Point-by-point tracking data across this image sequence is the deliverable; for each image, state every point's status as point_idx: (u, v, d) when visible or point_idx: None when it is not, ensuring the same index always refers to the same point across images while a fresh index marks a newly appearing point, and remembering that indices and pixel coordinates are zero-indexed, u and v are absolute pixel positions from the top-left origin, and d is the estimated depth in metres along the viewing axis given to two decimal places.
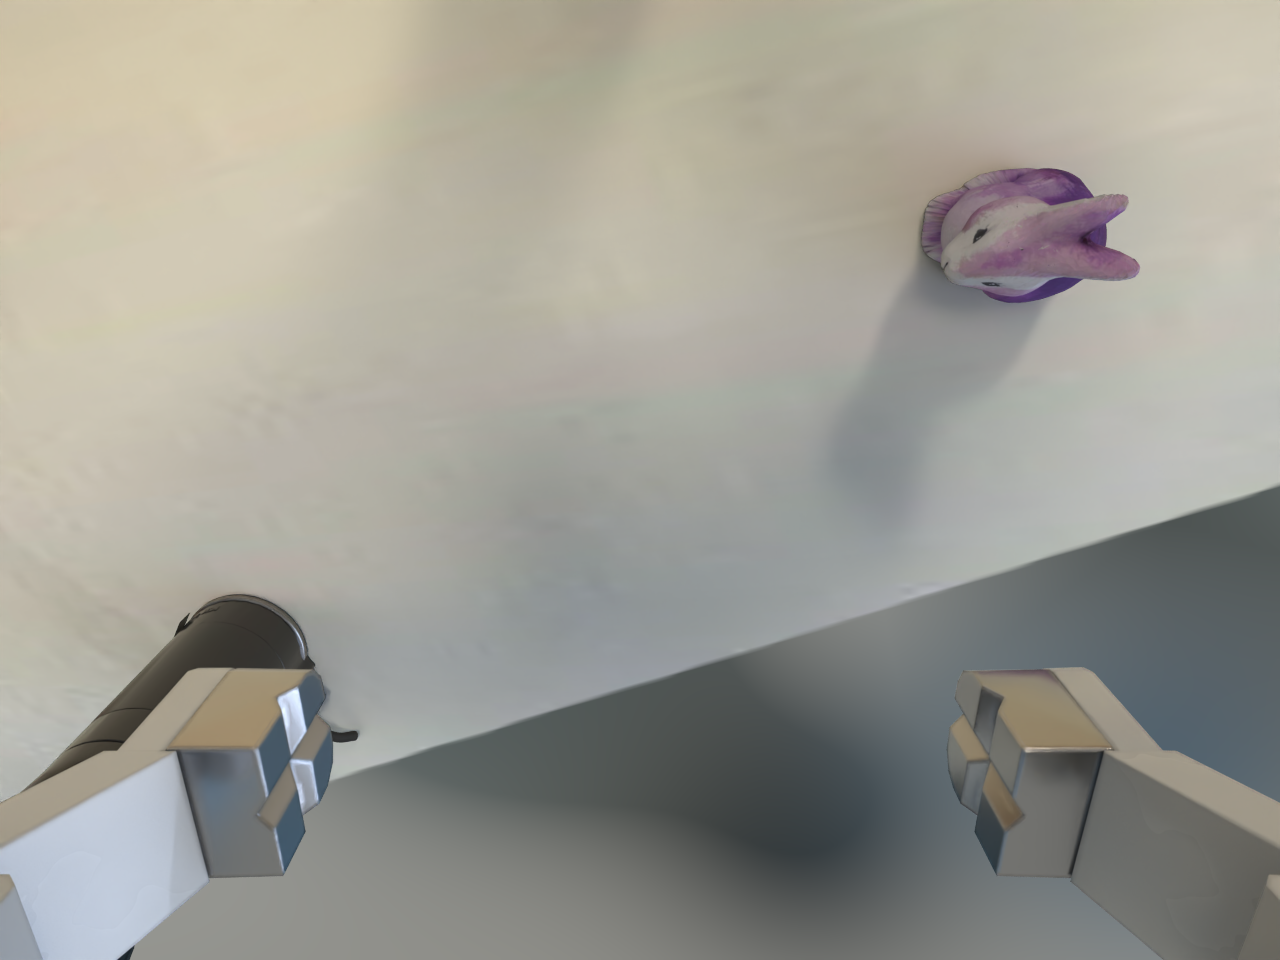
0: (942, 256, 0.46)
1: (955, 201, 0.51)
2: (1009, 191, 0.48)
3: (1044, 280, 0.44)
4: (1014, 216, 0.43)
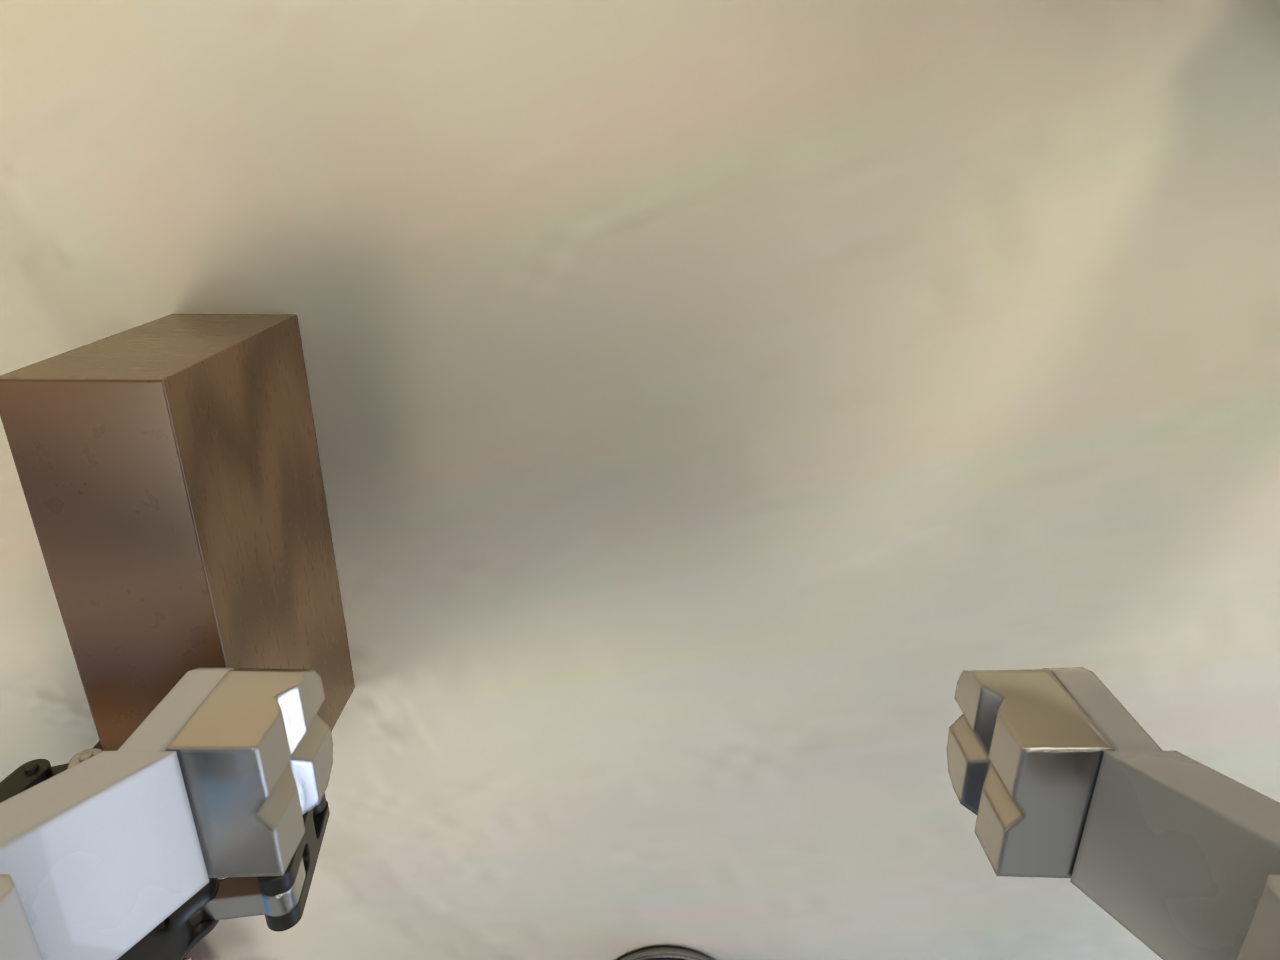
0: None
1: None
2: None
3: None
4: None
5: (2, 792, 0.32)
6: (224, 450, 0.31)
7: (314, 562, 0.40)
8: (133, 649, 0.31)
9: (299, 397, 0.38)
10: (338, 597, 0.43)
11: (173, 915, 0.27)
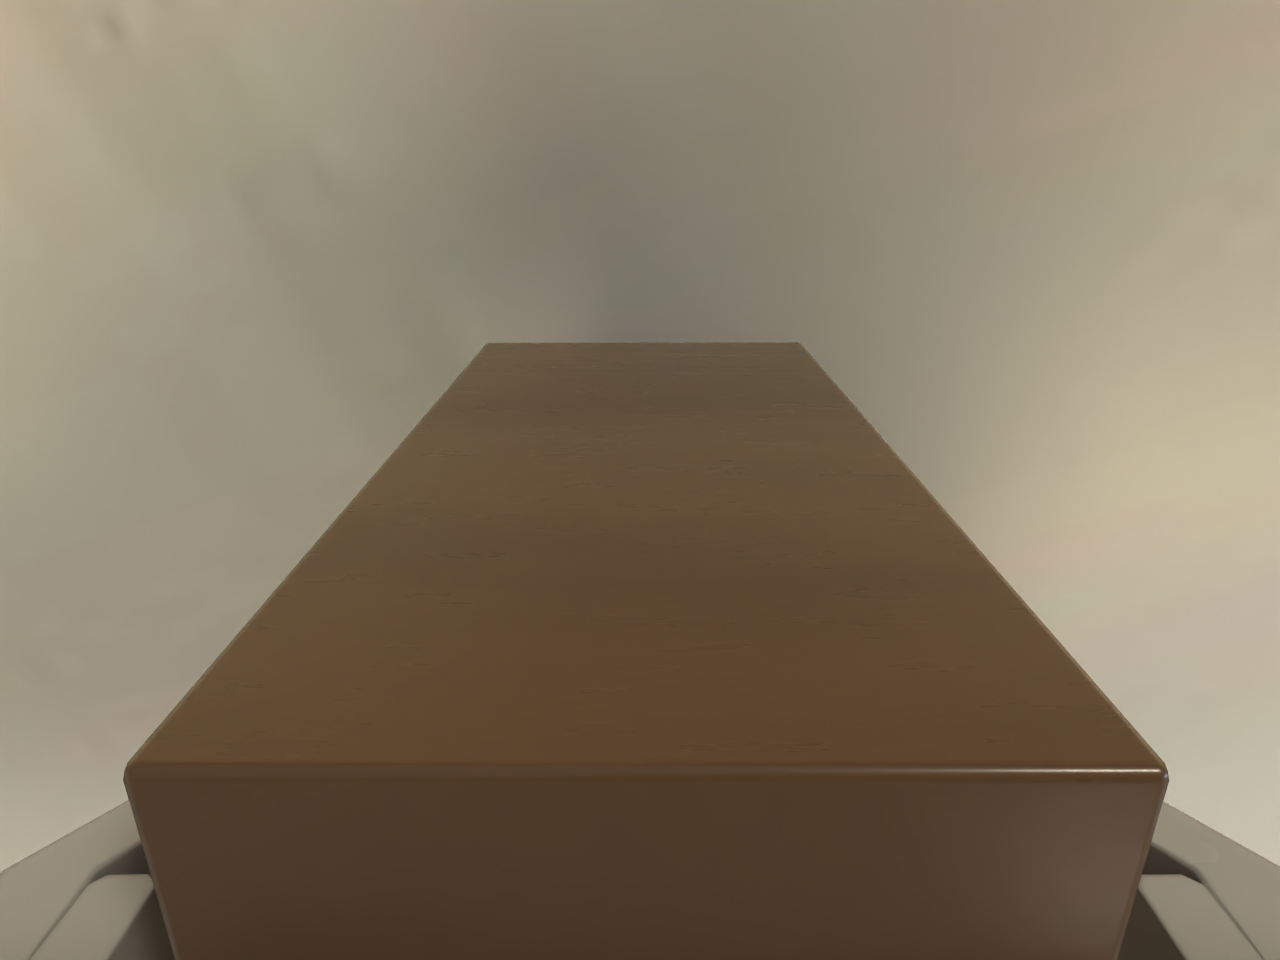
0: None
1: None
2: None
3: None
4: None
5: None
6: None
7: None
8: None
9: None
10: None
11: None
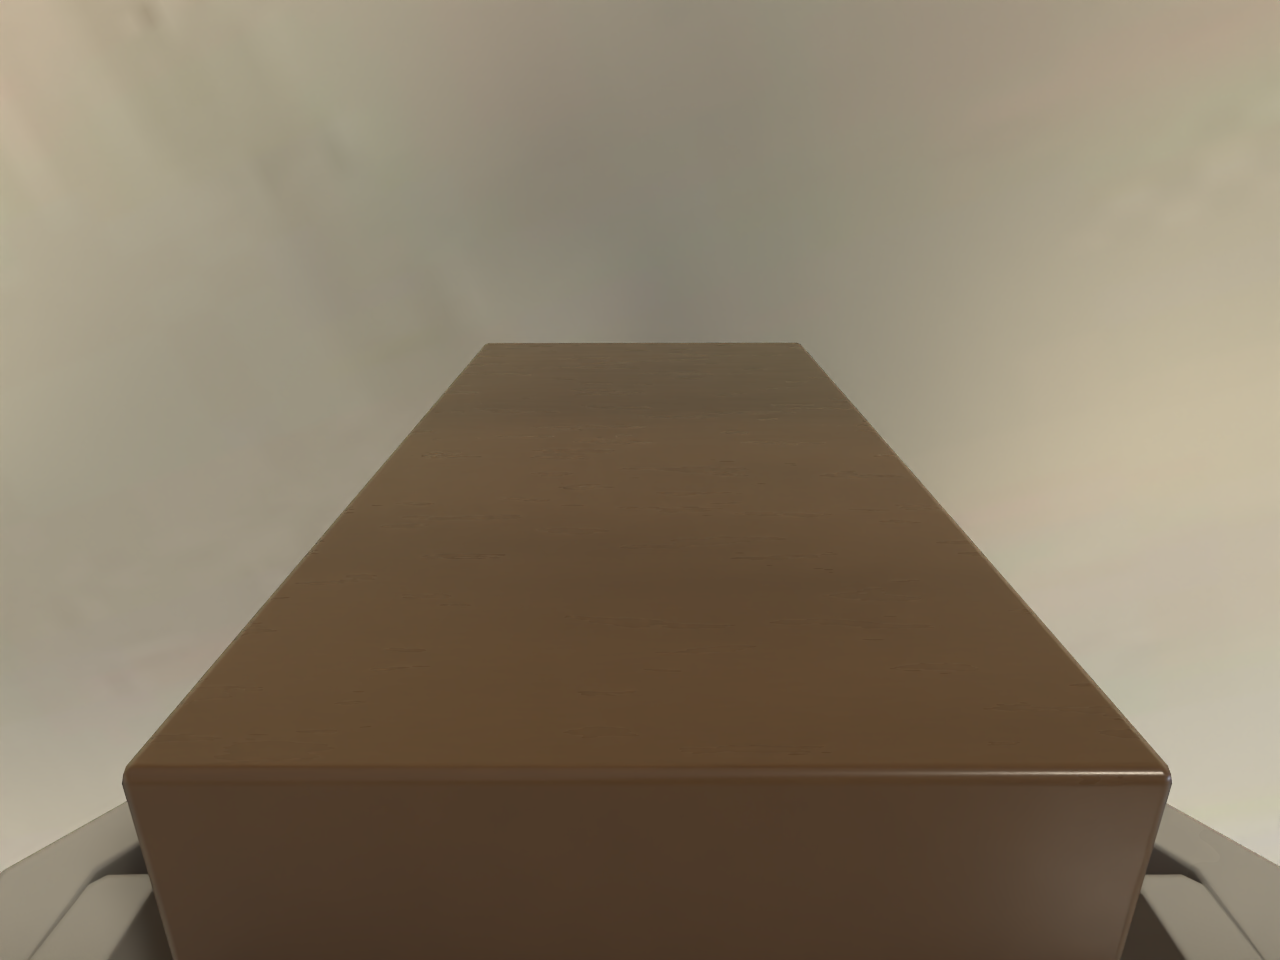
0: None
1: None
2: None
3: None
4: None
5: None
6: None
7: None
8: None
9: None
10: None
11: None
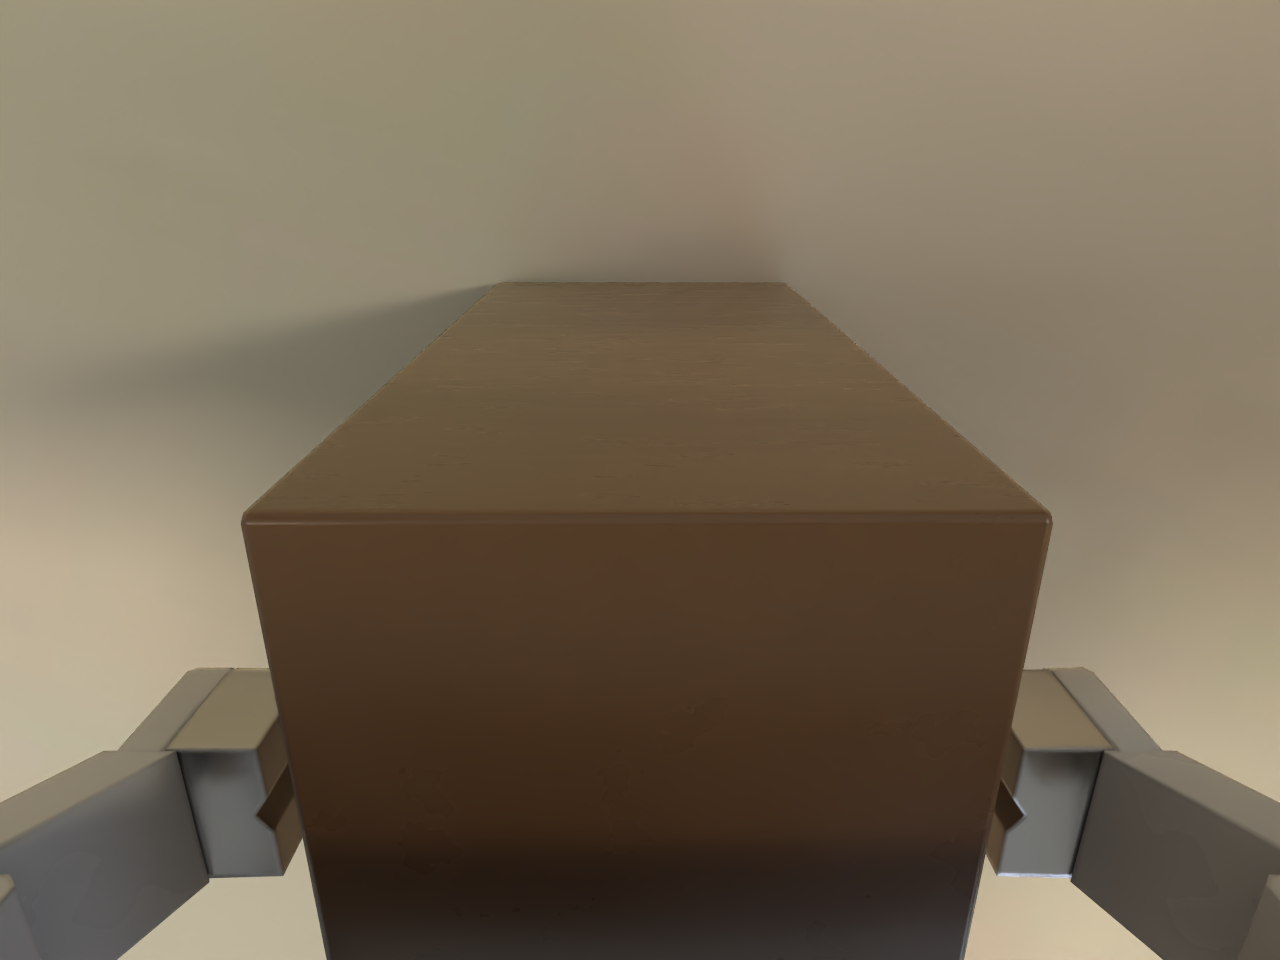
0: None
1: None
2: None
3: None
4: None
5: None
6: None
7: None
8: None
9: None
10: None
11: None
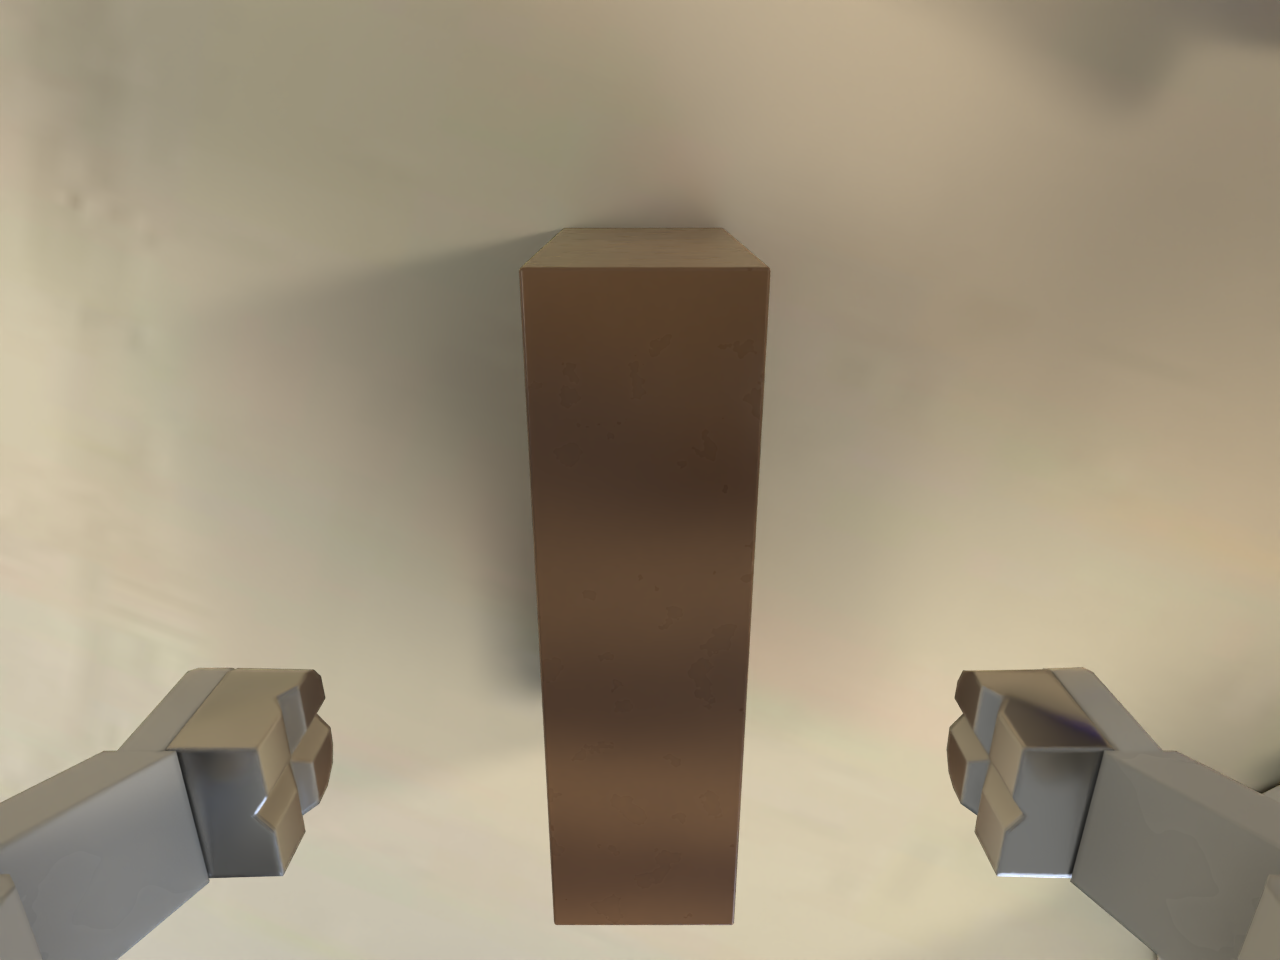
0: None
1: None
2: None
3: None
4: None
5: None
6: None
7: None
8: (626, 658, 0.23)
9: None
10: None
11: None
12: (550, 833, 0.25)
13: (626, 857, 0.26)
